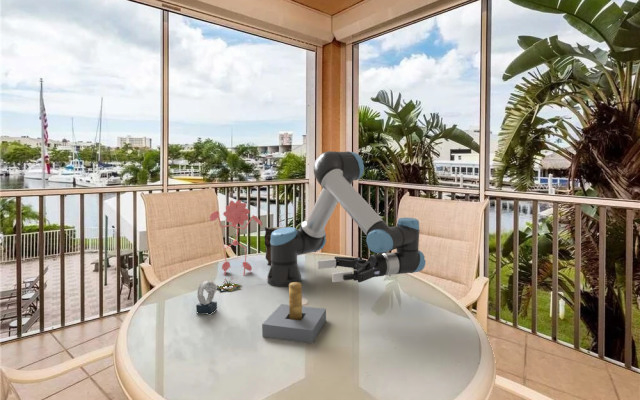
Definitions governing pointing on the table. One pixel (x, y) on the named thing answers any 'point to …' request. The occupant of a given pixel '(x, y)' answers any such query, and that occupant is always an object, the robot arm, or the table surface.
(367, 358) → the table surface
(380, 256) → the robot arm
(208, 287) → the watch
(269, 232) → the owl
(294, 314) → the ochre pin
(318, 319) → the hole block
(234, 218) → the figurine
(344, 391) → the table surface
